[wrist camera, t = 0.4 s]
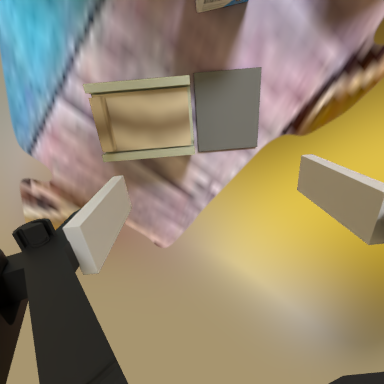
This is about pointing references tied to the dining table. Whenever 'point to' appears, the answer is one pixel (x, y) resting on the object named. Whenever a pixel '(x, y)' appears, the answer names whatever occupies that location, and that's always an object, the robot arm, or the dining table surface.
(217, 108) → the rubber mat
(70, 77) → the dining table surface
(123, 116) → the cover plate
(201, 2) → the ink box
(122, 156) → the sage box
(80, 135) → the dining table surface
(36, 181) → the dining table surface
